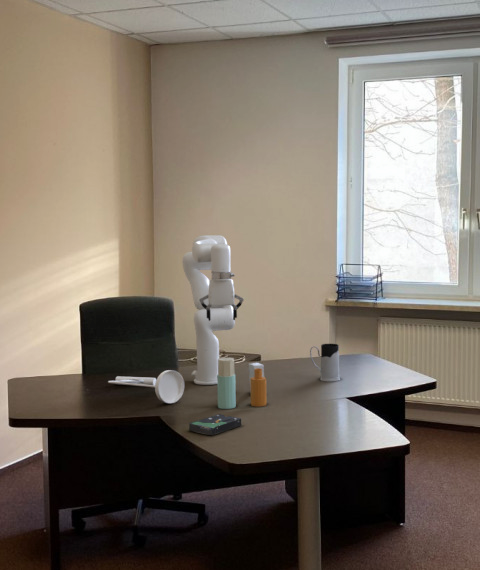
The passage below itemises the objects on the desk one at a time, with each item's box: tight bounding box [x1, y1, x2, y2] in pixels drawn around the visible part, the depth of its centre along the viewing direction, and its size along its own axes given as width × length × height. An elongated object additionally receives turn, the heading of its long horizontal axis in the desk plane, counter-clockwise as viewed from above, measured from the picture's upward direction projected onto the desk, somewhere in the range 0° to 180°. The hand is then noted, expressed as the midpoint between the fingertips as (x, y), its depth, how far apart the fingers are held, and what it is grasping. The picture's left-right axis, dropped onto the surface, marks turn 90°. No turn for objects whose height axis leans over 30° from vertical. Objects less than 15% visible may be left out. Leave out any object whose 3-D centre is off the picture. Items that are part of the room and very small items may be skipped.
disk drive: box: [188, 413, 242, 436], centre depth 245 cm, size 10×3×15 cm
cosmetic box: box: [248, 362, 265, 394], centre depth 293 cm, size 6×4×12 cm
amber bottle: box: [249, 368, 267, 408], centre depth 276 cm, size 6×6×14 cm
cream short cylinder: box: [218, 357, 235, 377], centre depth 273 cm, size 6×6×6 cm
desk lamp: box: [107, 369, 185, 404], centre depth 298 cm, size 12×22×45 cm
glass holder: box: [309, 343, 341, 382], centre depth 321 cm, size 9×14×15 cm, turn 58°
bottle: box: [216, 373, 237, 410], centre depth 274 cm, size 7×7×16 cm
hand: (221, 319), depth 288 cm, fingers open, 9 cm apart
